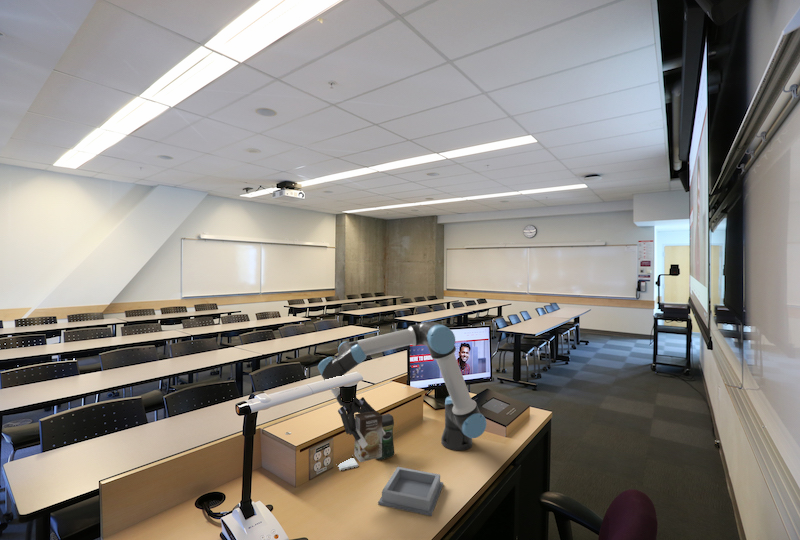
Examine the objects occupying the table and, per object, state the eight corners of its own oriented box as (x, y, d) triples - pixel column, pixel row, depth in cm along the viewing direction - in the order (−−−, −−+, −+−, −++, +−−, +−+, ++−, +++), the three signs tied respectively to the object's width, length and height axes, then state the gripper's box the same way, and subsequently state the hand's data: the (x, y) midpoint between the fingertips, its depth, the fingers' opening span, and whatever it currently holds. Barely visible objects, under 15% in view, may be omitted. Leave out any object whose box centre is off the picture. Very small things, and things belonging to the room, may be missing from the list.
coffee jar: (388, 449, 180) (388, 410, 180) (396, 456, 173) (396, 416, 173) (370, 454, 175) (370, 414, 175) (377, 462, 168) (378, 420, 168)
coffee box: (360, 463, 140) (360, 420, 140) (354, 455, 146) (354, 414, 146) (382, 457, 145) (382, 415, 144) (375, 449, 150) (375, 409, 150)
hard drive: (332, 455, 172) (340, 468, 161) (350, 451, 176) (358, 464, 164) (332, 458, 172) (340, 472, 161) (349, 455, 176) (358, 467, 164)
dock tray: (396, 475, 157) (396, 465, 157) (443, 484, 151) (443, 473, 151) (378, 504, 138) (378, 492, 138) (431, 516, 132) (431, 503, 132)
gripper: (357, 389, 163) (386, 434, 155) (318, 406, 144) (349, 458, 136) (366, 379, 160) (397, 425, 152) (328, 395, 141) (360, 448, 133)
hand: (374, 441), depth 144 cm, fingers closed on coffee box, 10 cm apart
